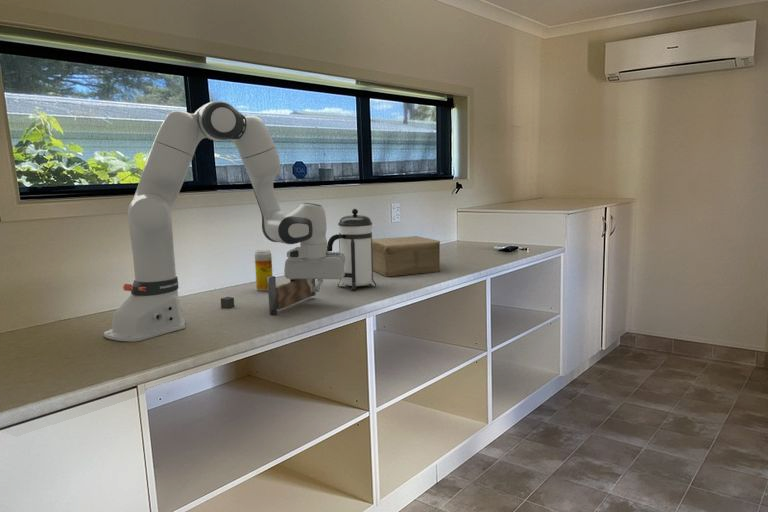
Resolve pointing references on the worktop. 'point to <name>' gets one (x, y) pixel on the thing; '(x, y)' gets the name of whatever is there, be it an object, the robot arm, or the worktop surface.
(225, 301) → the dark grey cube
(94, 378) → the worktop surface
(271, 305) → the gate post
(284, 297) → the gate
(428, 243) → the paper package
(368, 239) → the coffee press
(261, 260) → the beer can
